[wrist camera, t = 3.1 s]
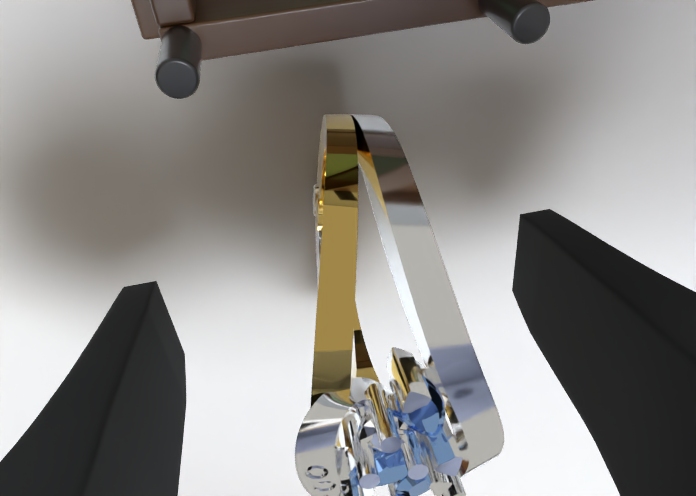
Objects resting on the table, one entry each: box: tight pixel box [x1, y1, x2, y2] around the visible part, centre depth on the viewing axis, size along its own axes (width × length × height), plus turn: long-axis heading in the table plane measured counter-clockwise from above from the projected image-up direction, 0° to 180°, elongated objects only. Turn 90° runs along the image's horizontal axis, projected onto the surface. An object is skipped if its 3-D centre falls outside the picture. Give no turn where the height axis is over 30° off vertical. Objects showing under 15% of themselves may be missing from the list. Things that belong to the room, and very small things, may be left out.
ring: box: [295, 114, 504, 496], centre depth 11 cm, size 7×3×8 cm, turn 176°
